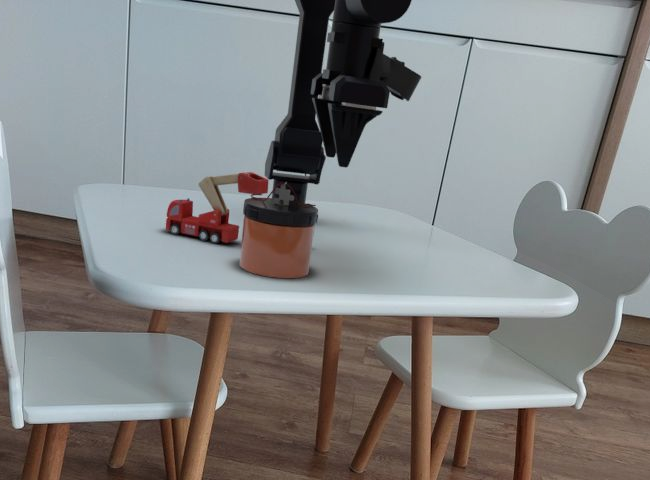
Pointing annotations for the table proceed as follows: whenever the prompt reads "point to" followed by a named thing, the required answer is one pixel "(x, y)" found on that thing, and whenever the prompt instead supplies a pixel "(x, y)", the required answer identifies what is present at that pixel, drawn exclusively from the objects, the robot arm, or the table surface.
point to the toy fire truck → (217, 220)
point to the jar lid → (280, 212)
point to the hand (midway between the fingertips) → (336, 161)
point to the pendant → (282, 195)
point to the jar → (276, 249)
